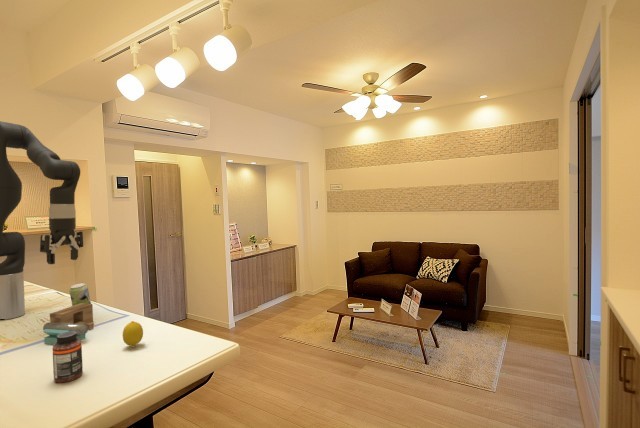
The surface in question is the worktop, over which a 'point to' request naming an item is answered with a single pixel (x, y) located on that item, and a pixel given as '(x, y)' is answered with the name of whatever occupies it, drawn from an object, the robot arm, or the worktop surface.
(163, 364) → the worktop surface
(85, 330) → the axle
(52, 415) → the worktop surface
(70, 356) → the supplement bottle
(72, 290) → the beverage can
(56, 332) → the v block
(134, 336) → the lemon
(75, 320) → the brown wooden block
